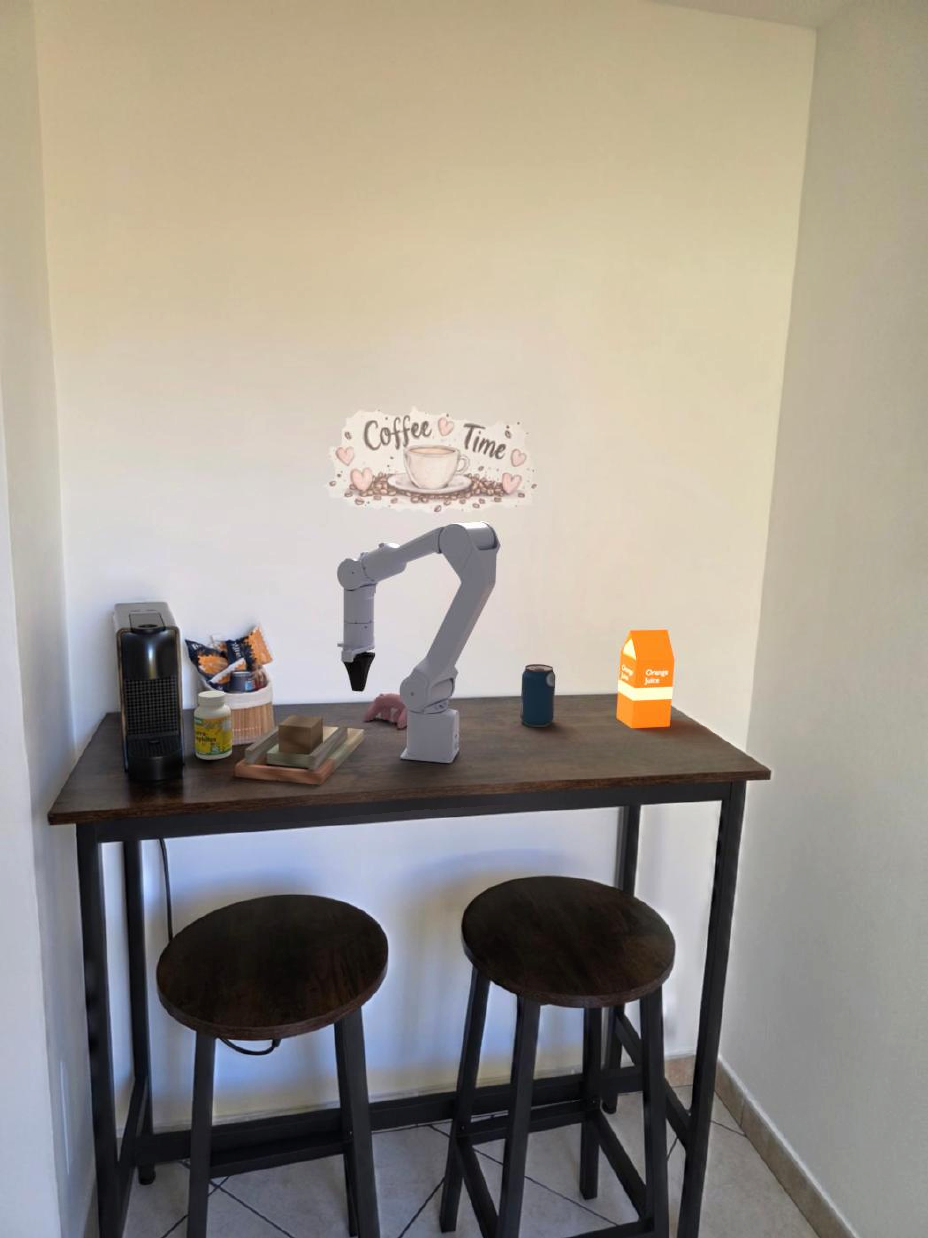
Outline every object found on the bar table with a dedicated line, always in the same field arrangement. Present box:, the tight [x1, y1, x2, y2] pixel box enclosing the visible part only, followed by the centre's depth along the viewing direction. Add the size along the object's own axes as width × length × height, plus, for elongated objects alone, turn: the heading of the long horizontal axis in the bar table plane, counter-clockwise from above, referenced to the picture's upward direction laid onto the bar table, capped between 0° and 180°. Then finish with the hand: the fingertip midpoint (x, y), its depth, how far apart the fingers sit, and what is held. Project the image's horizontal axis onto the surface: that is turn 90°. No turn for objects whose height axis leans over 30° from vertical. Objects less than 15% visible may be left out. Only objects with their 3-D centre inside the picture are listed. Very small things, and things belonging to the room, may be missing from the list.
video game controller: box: [364, 692, 407, 730], centre depth 171 cm, size 10×5×7 cm, turn 58°
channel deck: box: [234, 724, 365, 786], centre depth 149 cm, size 15×24×4 cm, turn 170°
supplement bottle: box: [193, 690, 233, 761], centre depth 148 cm, size 6×6×11 cm
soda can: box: [519, 663, 556, 728], centre depth 173 cm, size 7×7×12 cm
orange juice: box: [616, 629, 676, 729], centre depth 175 cm, size 8×9×20 cm
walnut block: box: [277, 714, 324, 755], centre depth 148 cm, size 6×6×5 cm
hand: (358, 690), depth 160 cm, fingers closed
